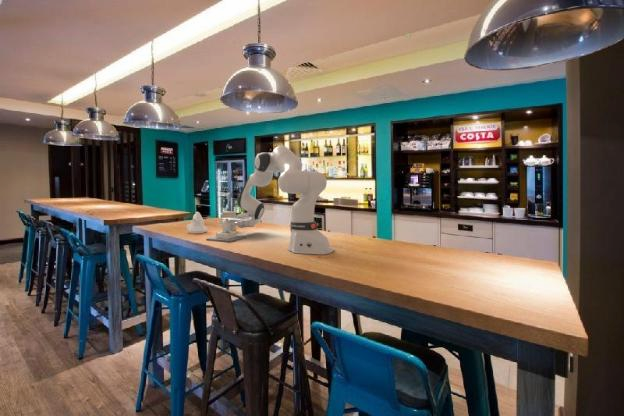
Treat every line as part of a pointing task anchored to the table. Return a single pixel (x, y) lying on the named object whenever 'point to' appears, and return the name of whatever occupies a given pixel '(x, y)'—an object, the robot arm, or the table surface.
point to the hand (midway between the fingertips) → (229, 223)
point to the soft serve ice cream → (196, 224)
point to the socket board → (226, 237)
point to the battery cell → (226, 226)
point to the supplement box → (232, 215)
